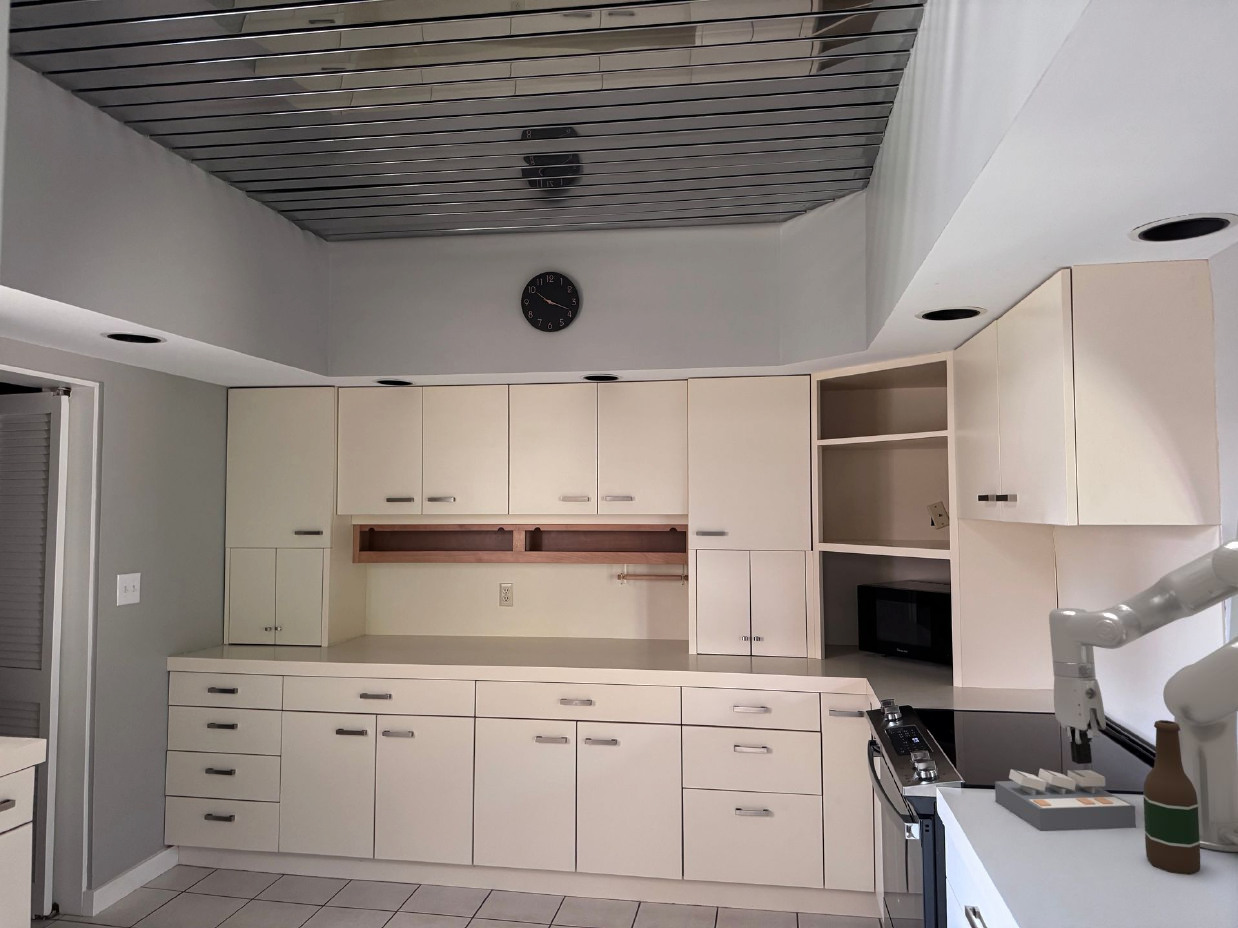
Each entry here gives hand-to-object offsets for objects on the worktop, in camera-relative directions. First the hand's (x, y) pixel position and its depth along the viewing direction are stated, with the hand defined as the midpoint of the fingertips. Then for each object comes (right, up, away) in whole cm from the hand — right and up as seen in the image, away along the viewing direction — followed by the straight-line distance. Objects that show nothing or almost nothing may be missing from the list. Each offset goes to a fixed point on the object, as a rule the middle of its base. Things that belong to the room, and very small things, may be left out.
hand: (1081, 762), depth 165 cm
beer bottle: (+1, -8, -26) cm, 27 cm away
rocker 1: (-11, -3, 0) cm, 12 cm away
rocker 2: (+1, -3, +1) cm, 4 cm away
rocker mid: (-5, -3, 0) cm, 6 cm away
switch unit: (-5, -10, -2) cm, 11 cm away
